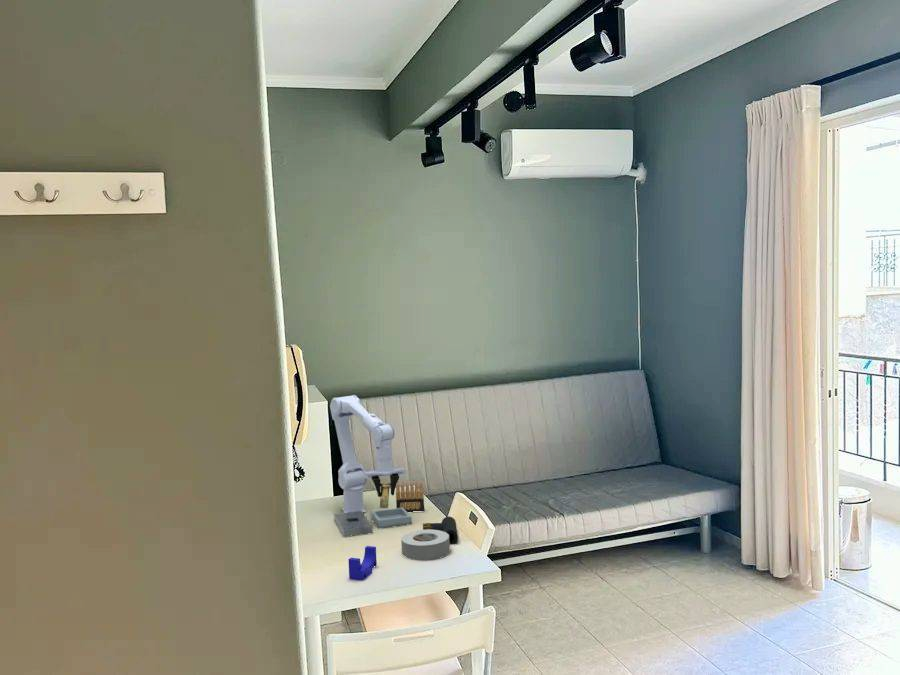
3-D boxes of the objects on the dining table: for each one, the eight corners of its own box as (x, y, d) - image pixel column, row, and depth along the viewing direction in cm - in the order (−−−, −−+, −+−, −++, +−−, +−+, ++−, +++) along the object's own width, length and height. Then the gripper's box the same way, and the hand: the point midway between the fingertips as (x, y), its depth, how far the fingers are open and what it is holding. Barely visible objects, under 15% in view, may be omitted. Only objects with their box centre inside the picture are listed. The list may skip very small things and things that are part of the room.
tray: (371, 519, 280) (371, 511, 279) (403, 515, 283) (402, 507, 283) (378, 528, 268) (378, 520, 268) (411, 524, 272) (411, 516, 272)
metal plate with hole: (334, 520, 280) (334, 514, 279) (361, 517, 283) (361, 510, 282) (343, 537, 261) (343, 529, 260) (372, 533, 264) (372, 526, 263)
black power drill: (422, 530, 249) (422, 516, 264) (423, 546, 249) (422, 531, 264) (457, 529, 249) (455, 515, 264) (458, 545, 250) (456, 530, 265)
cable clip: (363, 581, 221) (362, 560, 221) (349, 579, 223) (348, 559, 222) (381, 566, 232) (380, 547, 232) (367, 564, 234) (367, 545, 233)
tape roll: (410, 564, 234) (410, 547, 233) (395, 548, 248) (395, 533, 247) (457, 556, 239) (456, 540, 239) (439, 541, 253) (439, 526, 253)
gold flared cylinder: (376, 505, 276) (378, 482, 276) (388, 505, 277) (390, 482, 277) (379, 508, 272) (380, 484, 272) (391, 508, 273) (392, 484, 273)
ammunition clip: (424, 510, 289) (423, 479, 288) (424, 512, 287) (423, 480, 286) (396, 511, 288) (395, 480, 288) (396, 513, 287) (394, 481, 286)
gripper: (366, 462, 268) (368, 500, 269) (406, 458, 272) (408, 495, 273) (362, 458, 275) (364, 495, 275) (401, 454, 279) (403, 491, 280)
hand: (385, 495), depth 275 cm, fingers closed on gold flared cylinder, 4 cm apart
